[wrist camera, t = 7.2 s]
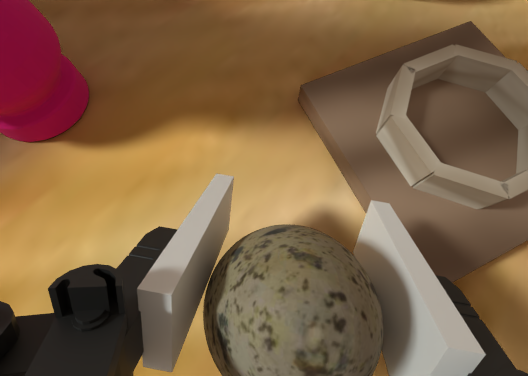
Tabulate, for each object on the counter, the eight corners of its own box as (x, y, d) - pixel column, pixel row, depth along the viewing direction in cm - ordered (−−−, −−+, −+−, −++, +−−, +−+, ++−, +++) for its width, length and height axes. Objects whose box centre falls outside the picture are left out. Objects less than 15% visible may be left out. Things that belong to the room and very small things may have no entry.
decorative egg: (353, 278, 15) (523, 267, 5) (300, 393, 13) (418, 679, 4) (257, 222, 16) (260, 126, 6) (196, 322, 14) (69, 401, 4)
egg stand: (297, 100, 19) (305, 61, 16) (456, 38, 22) (492, -7, 18) (414, 293, 15) (457, 295, 12) (596, 193, 17) (675, 171, 14)
